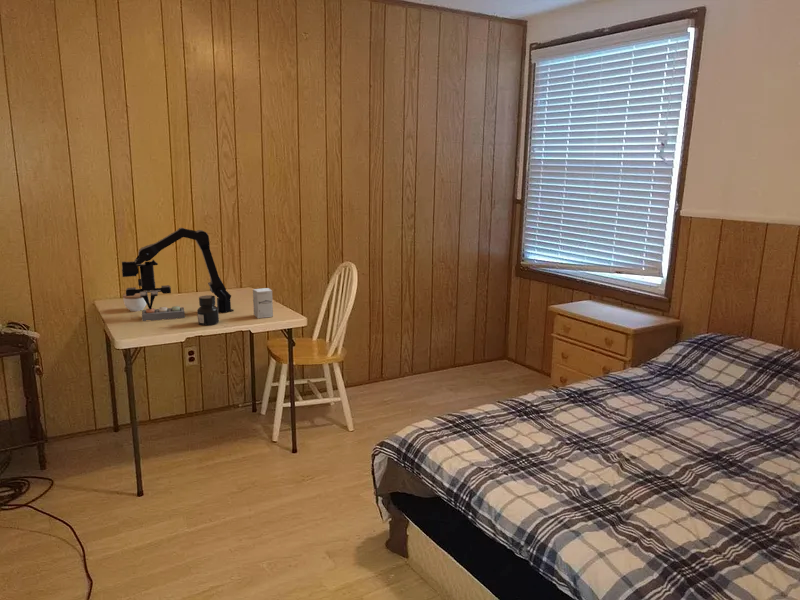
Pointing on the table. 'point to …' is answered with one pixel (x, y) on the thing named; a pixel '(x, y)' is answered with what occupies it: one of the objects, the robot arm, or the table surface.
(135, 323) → the table surface
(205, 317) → the ink bottle
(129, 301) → the lidded jar
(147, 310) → the terracotta button
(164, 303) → the table surface
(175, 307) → the sage button
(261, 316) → the supplement box
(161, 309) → the cream button
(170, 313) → the button panel
